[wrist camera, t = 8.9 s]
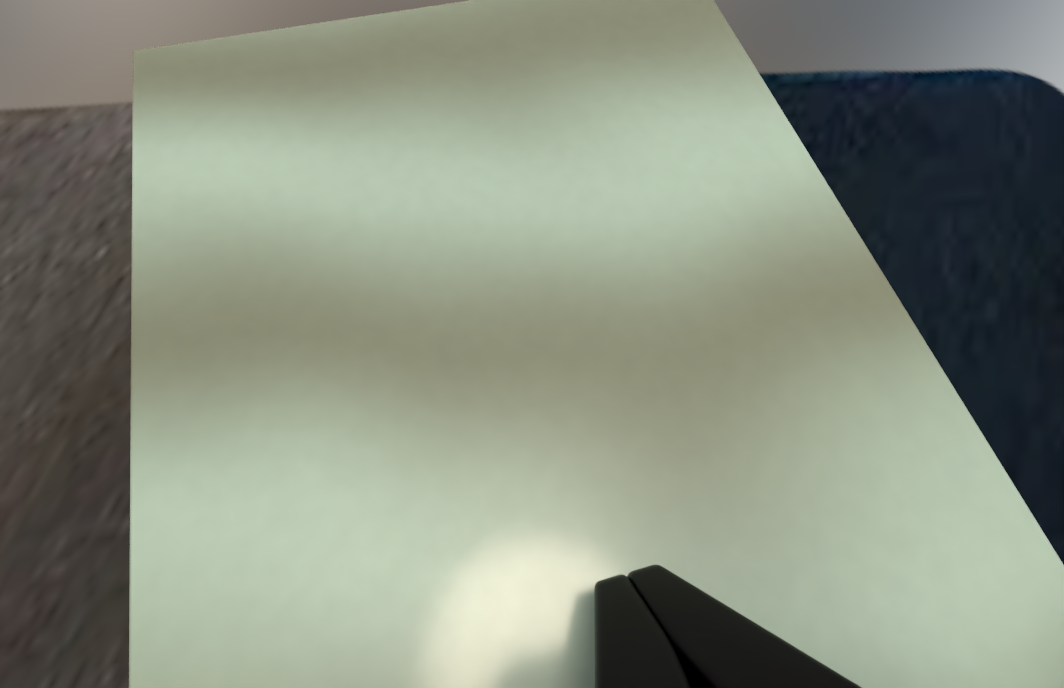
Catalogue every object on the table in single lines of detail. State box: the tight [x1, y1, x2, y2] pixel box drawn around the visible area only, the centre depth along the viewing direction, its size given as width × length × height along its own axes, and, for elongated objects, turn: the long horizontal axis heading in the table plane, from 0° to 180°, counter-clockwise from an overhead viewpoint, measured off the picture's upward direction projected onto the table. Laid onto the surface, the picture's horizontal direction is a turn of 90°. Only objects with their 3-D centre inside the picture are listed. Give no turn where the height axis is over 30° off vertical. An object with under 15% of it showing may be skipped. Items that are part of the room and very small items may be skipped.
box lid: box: [129, 0, 1064, 688], centre depth 10 cm, size 16×13×1 cm
